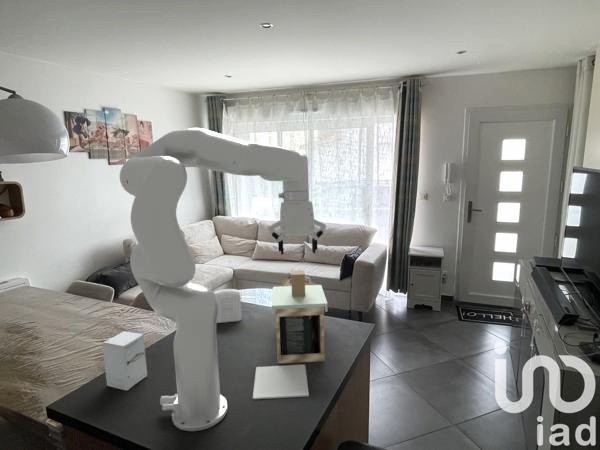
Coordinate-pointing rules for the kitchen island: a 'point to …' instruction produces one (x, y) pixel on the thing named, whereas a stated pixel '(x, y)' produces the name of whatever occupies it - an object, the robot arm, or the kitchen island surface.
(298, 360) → the crate
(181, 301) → the robot arm
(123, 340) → the supplement box
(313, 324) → the tampon box
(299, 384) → the mat
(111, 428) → the kitchen island surface
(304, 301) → the lid
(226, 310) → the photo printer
